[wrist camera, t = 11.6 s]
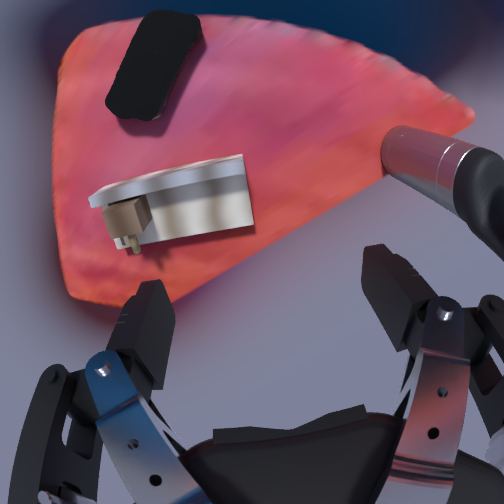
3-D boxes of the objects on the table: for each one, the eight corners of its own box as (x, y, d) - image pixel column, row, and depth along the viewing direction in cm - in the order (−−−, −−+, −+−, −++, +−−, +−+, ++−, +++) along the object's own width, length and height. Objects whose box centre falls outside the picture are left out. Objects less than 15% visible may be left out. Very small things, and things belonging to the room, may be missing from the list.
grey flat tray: (242, 153, 36) (243, 160, 32) (252, 218, 41) (255, 233, 37) (103, 186, 37) (88, 198, 32) (122, 242, 42) (111, 259, 37)
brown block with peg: (145, 192, 36) (133, 204, 31) (159, 239, 39) (151, 256, 35) (115, 200, 36) (101, 212, 31) (131, 244, 40) (120, 261, 35)
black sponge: (156, 13, 25) (149, 6, 21) (208, 27, 27) (205, 19, 24) (110, 110, 32) (100, 111, 28) (159, 126, 34) (152, 128, 31)
